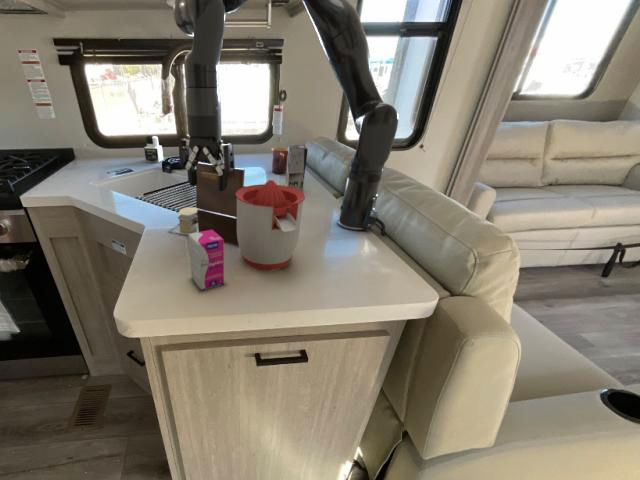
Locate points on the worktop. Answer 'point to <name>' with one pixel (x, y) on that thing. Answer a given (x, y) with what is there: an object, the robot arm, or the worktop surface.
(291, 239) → the citrus juicer
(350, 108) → the robot arm
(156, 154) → the medicine bottle
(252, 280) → the worktop surface
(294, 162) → the coffee box
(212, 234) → the supplement box
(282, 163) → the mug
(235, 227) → the chest
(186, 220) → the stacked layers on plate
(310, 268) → the worktop surface
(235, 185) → the lid
